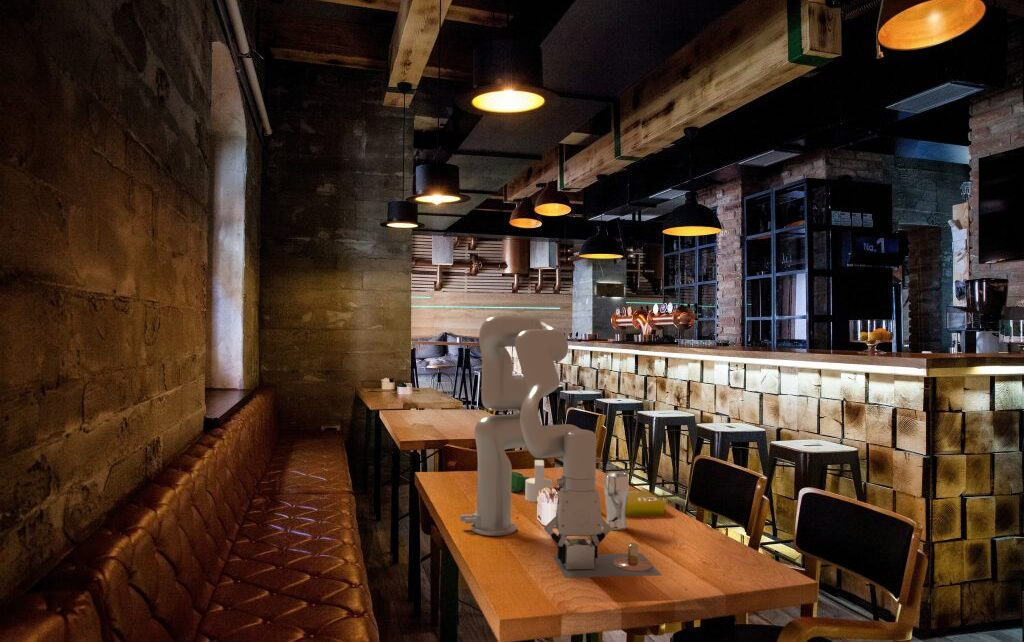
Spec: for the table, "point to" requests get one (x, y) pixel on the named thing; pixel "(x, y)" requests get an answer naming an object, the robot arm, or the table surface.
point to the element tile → (643, 504)
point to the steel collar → (579, 553)
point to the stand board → (604, 568)
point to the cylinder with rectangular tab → (536, 482)
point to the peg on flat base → (632, 560)
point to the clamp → (518, 482)
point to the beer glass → (616, 499)
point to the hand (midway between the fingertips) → (577, 560)
